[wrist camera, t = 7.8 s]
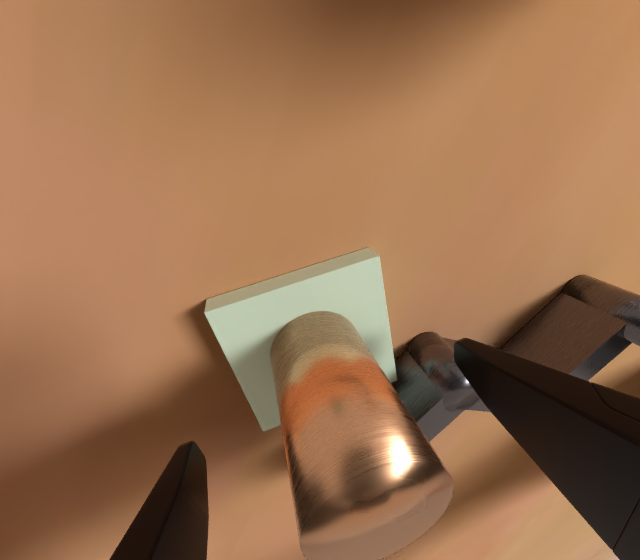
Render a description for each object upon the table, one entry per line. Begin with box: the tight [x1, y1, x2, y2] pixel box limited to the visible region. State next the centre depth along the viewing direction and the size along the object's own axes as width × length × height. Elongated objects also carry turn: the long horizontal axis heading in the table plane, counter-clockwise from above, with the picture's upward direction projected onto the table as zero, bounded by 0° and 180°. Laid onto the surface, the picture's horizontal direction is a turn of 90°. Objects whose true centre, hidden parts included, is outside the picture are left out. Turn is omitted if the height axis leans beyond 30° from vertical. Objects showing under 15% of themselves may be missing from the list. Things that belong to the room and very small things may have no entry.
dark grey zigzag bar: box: [391, 275, 640, 442], centre depth 14 cm, size 5×16×4 cm, turn 103°
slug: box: [270, 311, 454, 560], centre depth 9 cm, size 4×4×6 cm
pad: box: [204, 247, 397, 432], centre depth 12 cm, size 6×6×1 cm
